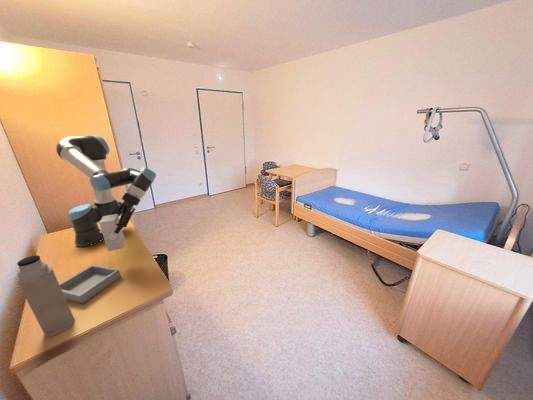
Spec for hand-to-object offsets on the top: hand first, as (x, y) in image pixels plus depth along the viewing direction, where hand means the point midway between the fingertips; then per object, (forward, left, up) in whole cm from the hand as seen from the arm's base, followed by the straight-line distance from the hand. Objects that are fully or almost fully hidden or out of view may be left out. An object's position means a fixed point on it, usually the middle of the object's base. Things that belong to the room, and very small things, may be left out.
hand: (106, 236), depth 101 cm
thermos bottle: (+31, +11, -19) cm, 38 cm away
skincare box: (-3, +1, -7) cm, 8 cm away
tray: (+13, 0, -18) cm, 23 cm away
